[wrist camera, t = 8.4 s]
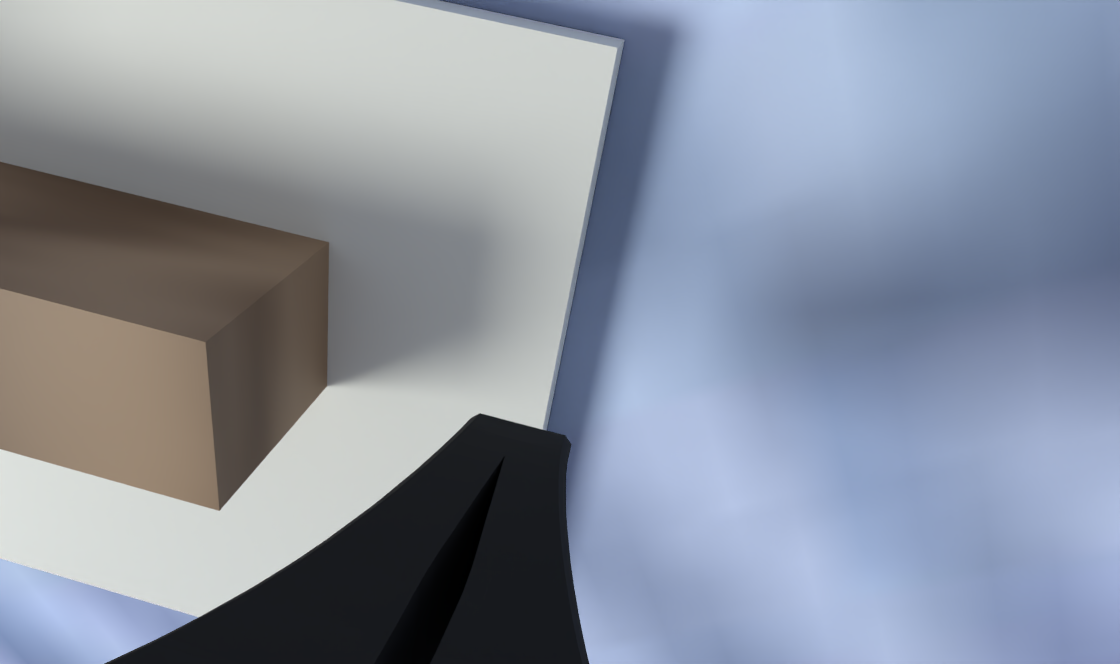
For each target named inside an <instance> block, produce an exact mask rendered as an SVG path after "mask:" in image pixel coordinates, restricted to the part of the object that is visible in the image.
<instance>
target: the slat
mask: <svg viewBox="0 0 1120 664" xmlns="http://www.w3.org/2000/svg"><path fill="white" fill-rule="evenodd" d="M328 283H329V242H326V241H322V240H318V239H314V238H310V237H305V236H301V235H297V234H293V233H289V232H285V231H281V230H277V229H273V228H269V227H265V226H261V225H257V224H252V223H248V222H244V221H240V220H236V219H232V218H228V217H224V216H220V215H216V214H212V213H208V212H203V211H199V210H195V209H191V208H187V207H183V206H179V205H175V204H171V203H167V202H163V201H159V200H155V199H150V198H146V197H142V196H138V195H134V194H130V193H126V192H122V191H118V190H114V189H110V188H106V187H102V186H97V185H93V184H89V183H85V182H81V181H77V180H73V179H69V178H65V177H61V176H57V175H53V174H49V173H44V172H40V171H36V170H32V169H28V168H24V167H20V166H16V165H12V164H8V163H4V162H0V449H2V450H5V451H9V452H12V453H16V454H19V455H23V456H26V457H30V458H33V459H37V460H41V461H44V462H48V463H51V464H55V465H58V466H62V467H65V468H69V469H72V470H76V471H80V472H83V473H87V474H90V475H94V476H97V477H101V478H104V479H108V480H111V481H115V482H119V483H122V484H126V485H129V486H133V487H136V488H140V489H143V490H147V491H150V492H154V493H158V494H161V495H165V496H168V497H172V498H175V499H179V500H182V501H186V502H189V503H193V504H196V505H200V506H204V507H207V508H211V509H214V510H218V511H220V510H221V509H222V507H223V506H224V505H225V504H226V503H227V502H228V500H229V499H230V498H231V497H232V496H233V495H234V494H235V492H236V491H237V490H238V489H239V488H240V487H241V485H242V484H243V483H244V482H245V481H246V480H247V478H248V477H249V476H250V475H251V474H252V473H253V472H254V470H255V469H256V468H257V467H258V466H259V465H260V463H261V462H262V461H263V460H264V459H265V458H266V456H267V455H268V454H269V453H270V452H271V451H272V449H273V448H274V447H275V446H276V445H277V444H278V443H279V441H280V440H281V439H282V438H283V437H284V436H285V434H286V433H287V432H288V431H289V430H290V429H291V427H292V426H293V425H294V424H295V423H296V422H297V421H298V419H299V418H300V417H301V416H302V415H303V414H304V412H305V411H306V410H307V409H308V408H309V407H310V405H311V404H312V403H313V402H314V401H315V400H316V398H317V397H318V396H319V395H320V394H321V393H322V392H323V390H324V389H325V388H326V387H327V357H328Z"/></svg>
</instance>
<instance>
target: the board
mask: <svg viewBox="0 0 1120 664" xmlns="http://www.w3.org/2000/svg"><path fill="white" fill-rule="evenodd" d="M624 41H625V40H624V39H619V38H614V37H610V36H605V35H600V34H595V33H591V32H586V31H581V30H577V29H572V28H567V27H562V26H558V25H553V24H548V23H544V22H539V21H534V20H529V19H525V18H520V17H515V16H511V15H506V14H501V13H496V12H492V11H487V10H482V9H478V8H473V7H468V6H463V5H459V4H454V3H449V2H445V1H440V0H0V162H4V163H8V164H12V165H16V166H20V167H24V168H28V169H32V170H36V171H40V172H44V173H49V174H53V175H57V176H61V177H65V178H69V179H73V180H77V181H81V182H85V183H89V184H93V185H97V186H102V187H106V188H110V189H114V190H118V191H122V192H126V193H130V194H134V195H138V196H142V197H146V198H150V199H155V200H159V201H163V202H167V203H171V204H175V205H179V206H183V207H187V208H191V209H195V210H199V211H203V212H208V213H212V214H216V215H220V216H224V217H228V218H232V219H236V220H240V221H244V222H248V223H252V224H257V225H261V226H265V227H269V228H273V229H277V230H281V231H285V232H289V233H293V234H297V235H301V236H305V237H310V238H314V239H318V240H322V241H326V242H329V283H328V357H327V387H326V388H325V389H324V390H323V392H322V393H321V394H320V395H319V396H318V397H317V398H316V400H315V401H314V402H313V403H312V404H311V405H310V407H309V408H308V409H307V410H306V411H305V412H304V414H303V415H302V416H301V417H300V418H299V419H298V421H297V422H296V423H295V424H294V425H293V426H292V427H291V429H290V430H289V431H288V432H287V433H286V434H285V436H284V437H283V438H282V439H281V440H280V441H279V443H278V444H277V445H276V446H275V447H274V448H273V449H272V451H271V452H270V453H269V454H268V455H267V456H266V458H265V459H264V460H263V461H262V462H261V463H260V465H259V466H258V467H257V468H256V469H255V470H254V472H253V473H252V474H251V475H250V476H249V477H248V478H247V480H246V481H245V482H244V483H243V484H242V485H241V487H240V488H239V489H238V490H237V491H236V492H235V494H234V495H233V496H232V497H231V498H230V499H229V500H228V502H227V503H226V504H225V505H224V506H223V507H222V509H221V510H220V511H218V510H214V509H211V508H207V507H204V506H200V505H196V504H193V503H189V502H186V501H182V500H179V499H175V498H172V497H168V496H165V495H161V494H158V493H154V492H150V491H147V490H143V489H140V488H136V487H133V486H129V485H126V484H122V483H119V482H115V481H111V480H108V479H104V478H101V477H97V476H94V475H90V474H87V473H83V472H80V471H76V470H72V469H69V468H65V467H62V466H58V465H55V464H51V463H48V462H44V461H41V460H37V459H33V458H30V457H26V456H23V455H19V454H16V453H12V452H9V451H5V450H2V449H0V558H1V559H4V560H7V561H11V562H14V563H18V564H21V565H24V566H28V567H31V568H34V569H38V570H41V571H45V572H48V573H51V574H55V575H58V576H61V577H65V578H68V579H72V580H75V581H78V582H82V583H85V584H88V585H92V586H95V587H99V588H102V589H105V590H109V591H112V592H116V593H119V594H122V595H126V596H129V597H132V598H136V599H139V600H143V601H146V602H149V603H153V604H156V605H159V606H163V607H166V608H170V609H173V610H176V611H180V612H183V613H186V614H190V615H193V616H197V617H200V616H202V615H204V614H206V613H207V612H209V611H211V610H213V609H215V608H216V607H218V606H220V605H222V604H223V603H225V602H227V601H229V600H231V599H232V598H234V597H236V596H238V595H240V594H241V593H243V592H245V591H247V590H248V589H250V588H252V587H253V586H255V585H257V584H258V583H260V582H262V581H263V580H265V579H267V578H268V577H270V576H271V575H273V574H275V573H276V572H278V571H279V570H281V569H283V568H284V567H286V566H287V565H289V564H291V563H292V562H294V561H295V560H297V559H298V558H300V557H301V556H303V555H304V554H306V553H307V552H309V551H310V550H312V549H313V548H315V547H316V546H318V545H319V544H321V543H322V542H323V541H325V540H326V539H328V538H329V537H330V536H332V535H333V534H334V533H336V532H337V531H339V530H340V529H341V528H343V527H344V526H345V525H347V524H348V523H349V522H351V521H352V520H353V519H355V518H356V517H358V516H359V515H360V514H362V513H363V512H364V511H366V510H367V509H368V508H370V507H371V506H372V505H374V504H375V503H376V502H377V501H379V500H380V499H381V498H383V497H384V496H385V495H386V494H387V493H389V492H390V491H391V490H392V489H393V488H395V487H396V486H397V485H398V484H399V483H401V482H402V481H403V480H404V479H405V478H407V477H408V476H409V475H410V474H411V473H413V472H414V471H415V470H416V469H417V468H419V467H420V466H421V465H422V464H423V463H424V462H425V461H426V460H428V459H429V458H430V457H431V456H432V455H433V454H434V453H435V452H437V451H438V450H439V449H440V448H441V447H442V446H443V445H444V444H445V443H446V442H447V441H448V440H449V439H450V438H451V437H452V436H453V435H455V434H456V433H457V432H458V431H459V430H460V429H461V428H462V427H463V426H464V425H465V424H466V423H467V421H468V420H469V419H470V418H472V417H474V416H475V415H477V414H479V413H481V414H485V415H489V416H493V417H496V418H500V419H504V420H508V421H512V422H515V423H519V424H523V425H527V426H531V427H535V428H538V429H542V430H546V431H547V426H548V421H549V416H550V411H551V406H552V401H553V396H554V391H555V386H556V381H557V376H558V371H559V366H560V361H561V356H562V351H563V346H564V341H565V336H566V331H567V326H568V321H569V316H570V311H571V306H572V301H573V296H574V291H575V286H576V281H577V276H578V271H579V266H580V261H581V256H582V251H583V246H584V241H585V236H586V231H587V226H588V221H589V216H590V211H591V206H592V201H593V196H594V191H595V186H596V181H597V176H598V171H599V166H600V161H601V156H602V151H603V146H604V141H605V136H606V131H607V126H608V121H609V116H610V111H611V106H612V101H613V96H614V91H615V86H616V81H617V76H618V71H619V66H620V61H621V56H622V51H623V46H624Z"/></svg>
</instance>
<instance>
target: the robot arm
mask: <svg viewBox="0 0 1120 664" xmlns="http://www.w3.org/2000/svg"><path fill="white" fill-rule="evenodd" d="M570 448H571V443H570V442H569V440H568V439H567V437H566V436H565V435H561V434H557V433H554V432H550V431H546V430H542V429H538V428H535V427H531V426H527V425H523V424H519V423H515V422H512V421H508V420H504V419H500V418H496V417H493V416H489V415H485V414H481V413H479V414H477V415H475V416H474V417H472V418H470V419H469V420H468V421H467V423H466V424H465V425H464V426H463V427H462V428H461V429H460V430H459V431H458V432H457V433H456V434H455V435H453V436H452V437H451V438H450V439H449V440H448V441H447V442H446V443H445V444H444V445H443V446H442V447H441V448H440V449H439V450H438V451H437V452H435V453H434V454H433V455H432V456H431V457H430V458H429V459H428V460H426V461H425V462H424V463H423V464H422V465H421V466H420V467H419V468H417V469H416V470H415V471H414V472H413V473H411V474H410V475H409V476H408V477H407V478H405V479H404V480H403V481H402V482H401V483H399V484H398V485H397V486H396V487H395V488H393V489H392V490H391V491H390V492H389V493H387V494H386V495H385V496H384V497H383V498H381V499H380V500H379V501H377V502H376V503H375V504H374V505H372V506H371V507H370V508H368V509H367V510H366V511H364V512H363V513H362V514H360V515H359V516H358V517H356V518H355V519H353V520H352V521H351V522H349V523H348V524H347V525H345V526H344V527H343V528H341V529H340V530H339V531H337V532H336V533H334V534H333V535H332V536H330V537H329V538H328V539H326V540H325V541H323V542H322V543H321V544H319V545H318V546H316V547H315V548H313V549H312V550H310V551H309V552H307V553H306V554H304V555H303V556H301V557H300V558H298V559H297V560H295V561H294V562H292V563H291V564H289V565H287V566H286V567H284V568H283V569H281V570H279V571H278V572H276V573H275V574H273V575H271V576H270V577H268V578H267V579H265V580H263V581H262V582H260V583H258V584H257V585H255V586H253V587H252V588H250V589H248V590H247V591H245V592H243V593H241V594H240V595H238V596H236V597H234V598H232V599H231V600H229V601H227V602H225V603H223V604H222V605H220V606H218V607H216V608H215V609H213V610H211V611H209V612H207V613H206V614H204V615H202V616H200V617H199V618H197V619H195V620H193V621H191V622H189V623H187V624H185V625H183V626H182V627H180V628H178V629H176V630H174V631H172V632H170V633H168V634H166V635H164V636H162V637H160V638H158V639H156V640H154V641H152V642H150V643H148V644H146V645H143V646H141V647H139V648H137V649H135V650H133V651H131V652H128V653H126V654H124V655H122V656H120V657H118V658H116V659H114V660H111V661H109V662H107V663H105V664H589V661H588V657H587V653H586V648H585V644H584V639H583V634H582V629H581V624H580V619H579V614H578V608H577V602H576V596H575V590H574V584H573V577H572V570H571V563H570V553H569V542H568V532H567V520H566V470H567V462H568V457H569V453H570Z"/></svg>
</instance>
